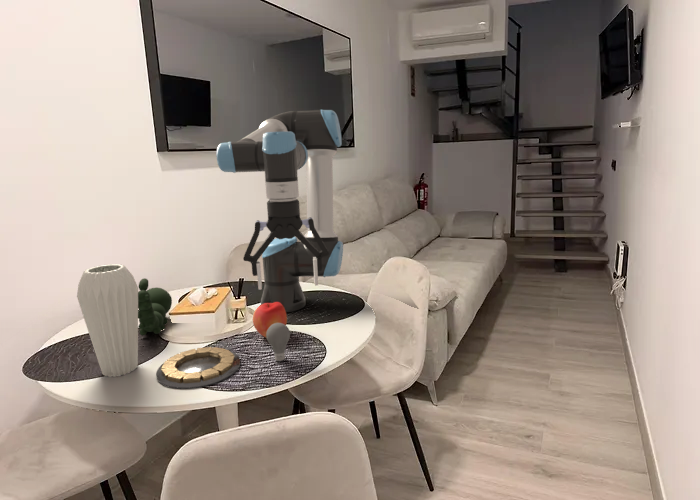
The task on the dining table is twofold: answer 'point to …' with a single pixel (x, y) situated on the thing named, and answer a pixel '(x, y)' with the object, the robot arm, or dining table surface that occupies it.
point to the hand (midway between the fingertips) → (288, 286)
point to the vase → (111, 316)
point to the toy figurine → (152, 308)
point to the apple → (268, 316)
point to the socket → (198, 368)
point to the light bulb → (278, 339)
